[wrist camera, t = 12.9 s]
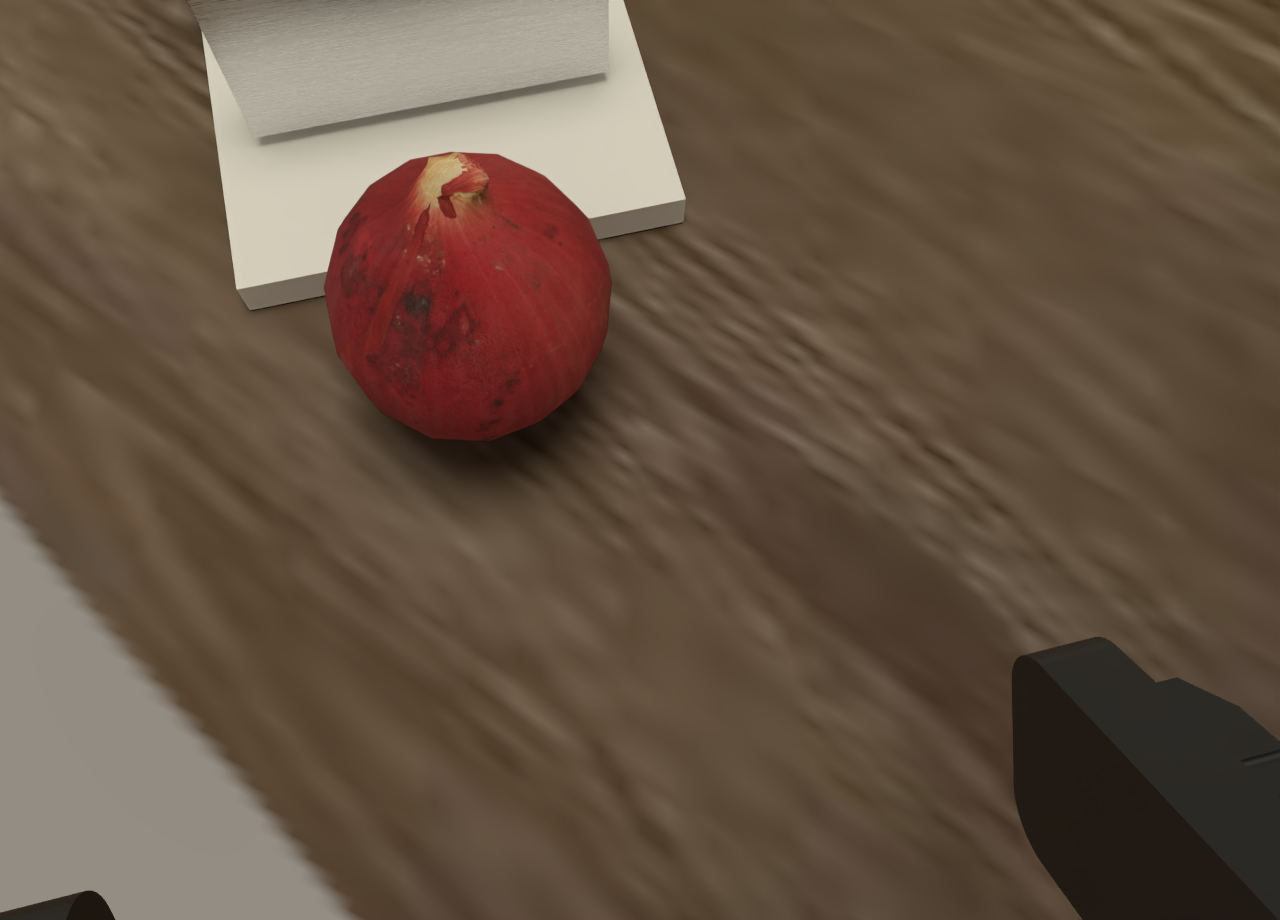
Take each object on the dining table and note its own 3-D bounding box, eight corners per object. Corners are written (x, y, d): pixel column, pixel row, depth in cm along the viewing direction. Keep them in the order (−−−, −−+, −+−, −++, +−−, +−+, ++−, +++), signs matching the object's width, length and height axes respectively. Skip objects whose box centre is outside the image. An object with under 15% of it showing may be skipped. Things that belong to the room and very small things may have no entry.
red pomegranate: (537, 531, 25) (504, 378, 17) (321, 425, 26) (200, 238, 18) (650, 329, 27) (663, 114, 19) (446, 237, 28) (383, -3, 20)
